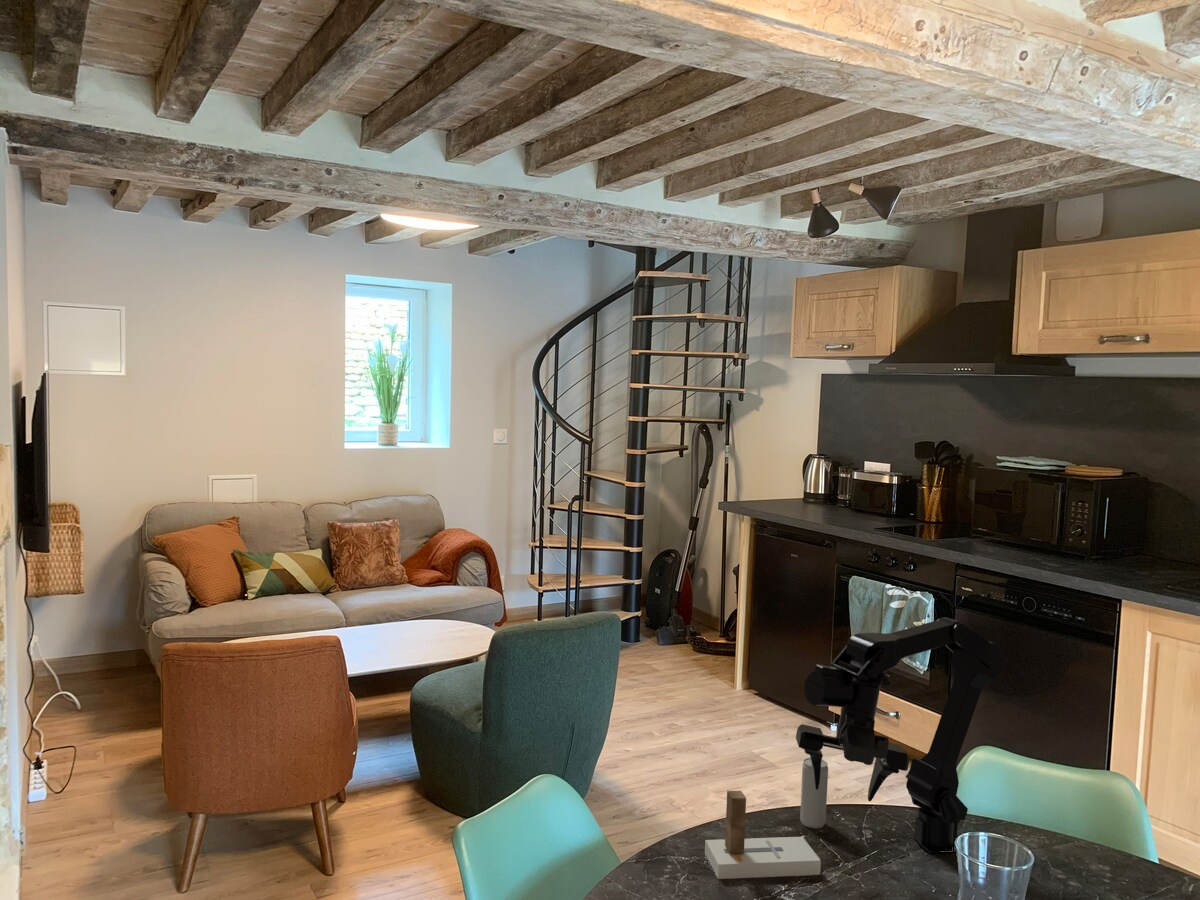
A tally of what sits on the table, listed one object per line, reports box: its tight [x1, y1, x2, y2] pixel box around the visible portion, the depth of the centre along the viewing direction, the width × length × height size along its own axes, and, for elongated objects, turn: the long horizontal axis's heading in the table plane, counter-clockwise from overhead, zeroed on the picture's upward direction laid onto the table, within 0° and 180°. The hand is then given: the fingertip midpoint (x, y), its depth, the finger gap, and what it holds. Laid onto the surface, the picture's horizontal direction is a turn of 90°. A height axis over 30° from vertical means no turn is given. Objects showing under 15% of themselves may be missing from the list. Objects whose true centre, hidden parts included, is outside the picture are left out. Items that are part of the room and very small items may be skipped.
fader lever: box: [724, 790, 747, 854], centre depth 155 cm, size 2×3×10 cm
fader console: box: [704, 836, 822, 880], centre depth 156 cm, size 18×9×3 cm, turn 98°
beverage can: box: [799, 757, 829, 830], centre depth 172 cm, size 5×5×12 cm
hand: (842, 794), depth 158 cm, fingers open, 9 cm apart
